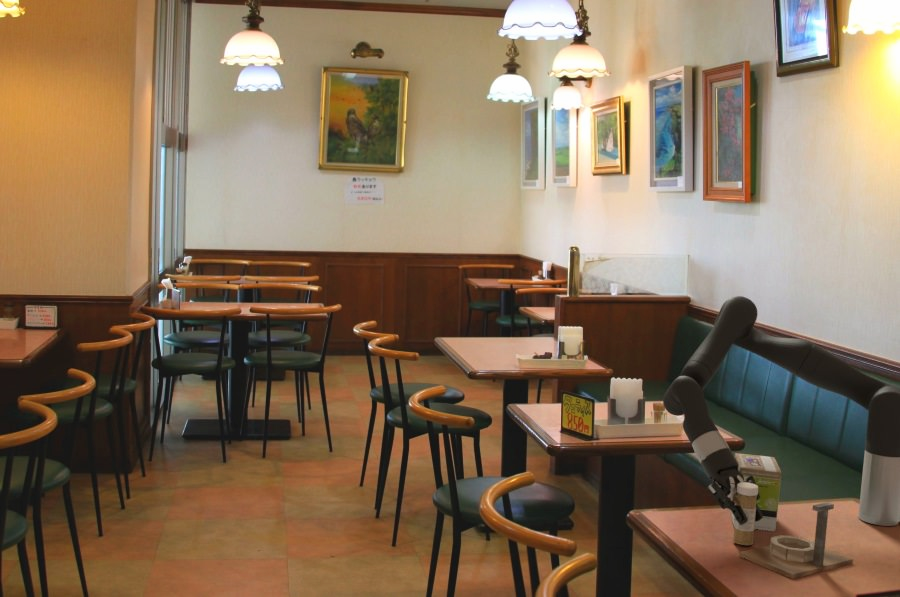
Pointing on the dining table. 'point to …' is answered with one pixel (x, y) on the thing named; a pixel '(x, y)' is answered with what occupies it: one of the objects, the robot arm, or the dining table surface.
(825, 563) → the socket base
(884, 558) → the dining table surface
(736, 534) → the sprinkles bottle
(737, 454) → the tea box
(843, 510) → the dining table surface
